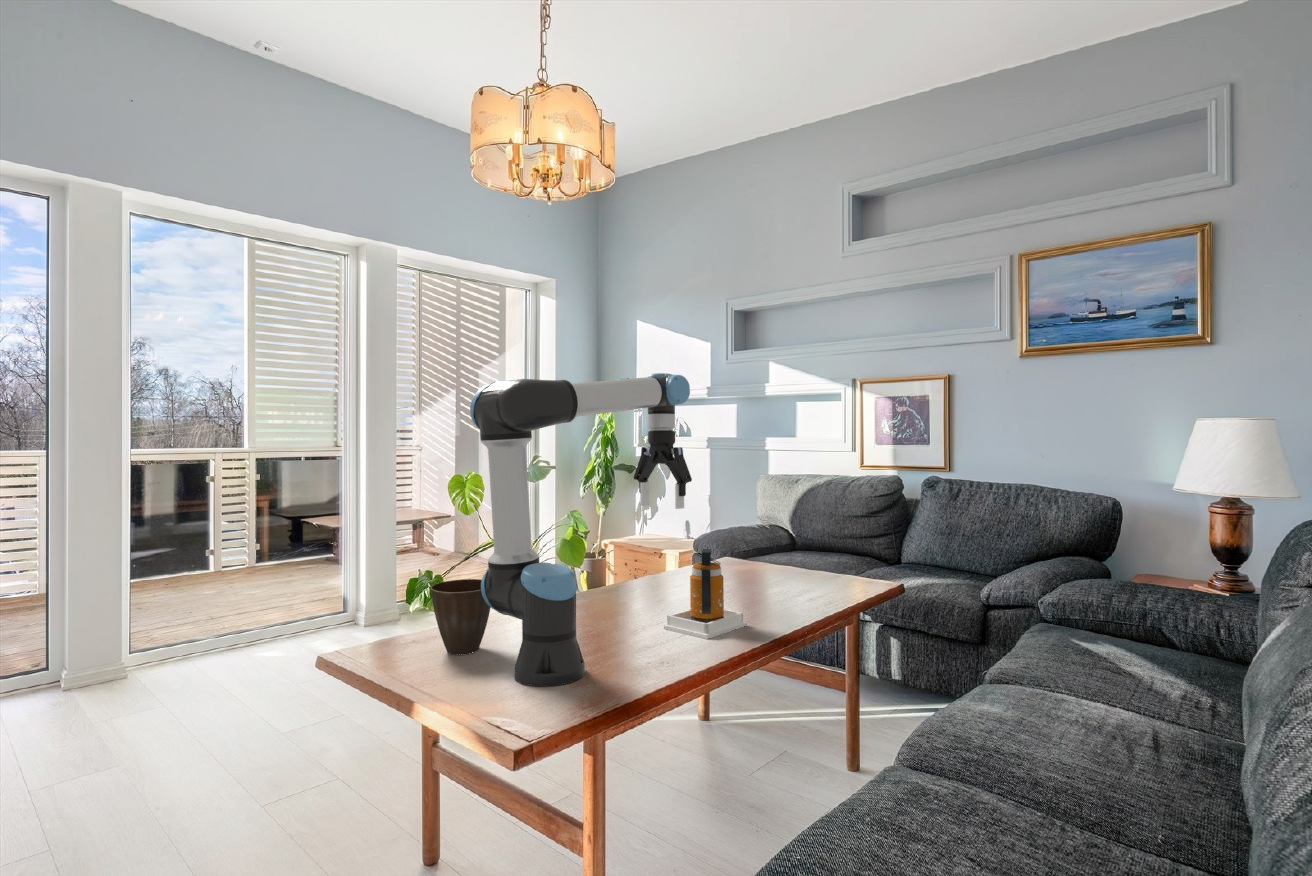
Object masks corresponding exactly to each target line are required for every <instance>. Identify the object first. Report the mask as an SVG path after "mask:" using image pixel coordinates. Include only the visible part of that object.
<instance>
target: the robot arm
mask: <svg viewBox="0 0 1312 876" xmlns="http://www.w3.org/2000/svg"><path fill="white" fill-rule="evenodd" d="M690 394H691V386H690V383H689V381H688V379H687V378H686V377H685V376H683V375H682V374H672V373H664V372H663V373H661V372H660V373H659V372H658V373H656V372H655V373H649V375H648V376H647V377H635V378H634V377H633V378H630V377H626V378H618V379H611V380H599V381H587V382H577V383H576V382H575V383H572V381H570V380H567V379H550V380H549V379H534V378H519V379H513V380H503V381H501V380H500V381H494V382H491V383H489V384H485V385H483V386H481V387H480V388H479V389H478V390H477V391H476V392H475V393H474V395H473V397H472V398H471V401H470V406H469V413H470V418H471V420H472V423H473V424H474V425H475V426H476V428H477V429H478V430H479V435H480V443H481V444H483V445H484V446H485V447H486V449H487V455H488V472H489V486H490V487H489V489H490V502H491V503H490V504H491V506H490V507H491V519H492V521H491V523H492V535H493V536H492V537H493V552H492V554H491V556H489V557H488V559H487V567H488V568H487V569H486V570H485V573H484V574H483V575H482V579H481V580H482V581H481V592H482V596H483V598H484V600H485V602H486V603H487V604H488V605H489V606H490V607H491V608H490V609H492V610H494V611H496V612H497V613H499V614H500V615H503V616H508V617H513V618H515V619H519V620H521V624H522V625H521V626H522V627H521V630H522V633H521V635H522V636H521V637H522V638H521V639H522V640H521V645H520V647H519V650H518V651H519V652H518V655H517V658H516V662H515V664H514V679H515V681H517V682H519V684H522V685H526V686H531V687H532V686H533V687H553V686H561V685H566V684H570V683H573V682H576V681H578V680H580V679H581V678H583V677H584V675H585V673H586V672H585V671H586V666H585V665H586V664H585V660H584V658H583V654H582V651H581V648H580V645H579V643H578V639H577V589H578V587H577V583H576V582H577V581H576V574H575V573H574V571H573V569H571V568H570V567H568V566H566V565H563V564H558V563H552V562H551V563H550V562H540V557H539V556H540V555H539V553H537V552H536V551H535V549H533V545H532V530H531V515H530V514H531V512H530V499H529V495H530V494H529V480H528V464H527V463H528V462H527V445H528V444H529V443H530V442H531V441H532V437H533V436H532V433H533V432H532V431H536V430H540V429H544V428H549V427H551V426H555V425H559V424H560V425H561V424H566V423H571V422H573V421H574V420H575V419H576V418H577V417H585V416H593V415H600V414H608V413H616V412H624V411H632V410H640V409H647V428H648V429H649V431H648V432H647V444H649V446H648V447H646V446H644V447H643V446H642V447H641V452H640V457H639V460H638V463H637V465H636V470H635V473H634V475H633V480H636V481H638V484H639V485H638V490H639V492H638V493H639V495H640V503H639V504H640V506H641V507H642V506H643V507H644V506H650V482H649V478H650V476H651V475H652V474H653V472H654V470H655V468H656V467H657V465H659V464H662V465H663V464H665V465H666V466H667V468H668V470H669V471H670V473H671V474H672V477H674V479H675V481H676V483H675V485H674V493H675V494H674V495H675V496H674V497H675V498H674V499H675V500H674V501H675V502H674V504H675V505H674V509H676V510H678V509H679V510H680V509H685V496H686V494H687V493H686V491H687V486H686V485H687V484H688V483H691V482H692V481H693V479H692V475H691V473H690V470H689V467H688V464H687V462H686V460H685V456H684V449H683V447H681V446H680V447H679V446H678V447H677V446H676V447H674V444H675V443H676V431H675V430H674V429H675V428H676V414H675V413H676V406H678V405H683V404H685V403H686V402H687V401H688V400H689V398H690Z"/></svg>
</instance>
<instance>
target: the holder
mask: <svg viewBox="0 0 1312 876" xmlns="http://www.w3.org/2000/svg"><path fill="white" fill-rule="evenodd" d="M723 616H724V618H721V619H718V620H715V621H712V622H709V623H703V622H698V621H694V620H691V608H690V609H687V610H683V611H678V612H676V613H671V614H669V615H667V617H666V618H667V623H666V624H663V629H664V630H667V629H668V630H669V631H671V630H672V631H671V632H675V633H679V634H684V635H687V634H688V635H687V636H691V637H696V638H701V639H704V638H705V639H704V640H709V639H712V638H715V637H718V636H721V635H724V634H726V633H731V632H732V630H733V631H735V630H734V629H736V630H739V629H741V627H742V628H744V626H745V627H747V625H748V624H747V623H748V622H747V621H744V612H740V611H736V610H730V609H727V608H726V609H725V608H724V615H723ZM668 630H667V631H668ZM720 634H721V635H720Z"/></svg>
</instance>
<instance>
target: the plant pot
mask: <svg viewBox="0 0 1312 876" xmlns="http://www.w3.org/2000/svg"><path fill="white" fill-rule="evenodd" d="M481 581H482V579H478V578H477V579H475V578H467V579H466V578H464V579H463V578H462V579H453V580H452V579H451V580H445V581H441V582H437V583H434V584H433V585H431V586H430V594H431V600H432V606H433V611H434V617H435V619H436V623H437V628H438V631H439V633H440V636H441V640H442V642H443V646H444V647H445V651H446V652H447V653H448V654H449V653H450V654H449V655H453V654H455V655H454V656H462V655H461V654H466V655H470V654H469V653H471V654H473V653H472V652H474V653H475V652H477V651H478V650H479V649H480V646H481V644H482V642H483V641H482V640H483V637H484V635H485V633H486V632H485V631H486V628H487V625H488V621H489V616H490V612H491V609H492V608H491V607H490V606H489V605H488V604H487V603H486V602H485V600H484V598H483V596H482V592H481ZM456 654H458V655H456ZM459 654H460V655H459Z"/></svg>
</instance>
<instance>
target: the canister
mask: <svg viewBox="0 0 1312 876" xmlns="http://www.w3.org/2000/svg"><path fill="white" fill-rule="evenodd" d="M711 555H712V549H710V548H702V549H701V558H700V562H696V563H694V564H693V565H692V567H691V575H690V576H689V580H690V581H689V582H690V583H689V584H690V585H689V587H690V588H689V593H690V594H689V596H690V598H689V600H690V604H689V605H690V609H691V620H694V621H698V622H703V623H709V622H712V621H715V620H718V619H721V618H724V616H723V615H724V609H725V606H724V602H725V601H724V600H725V599H724V591H725V589H724V575H722V567H721V562H720V561H718V560H716V559H713V558H712V557H711Z"/></svg>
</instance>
